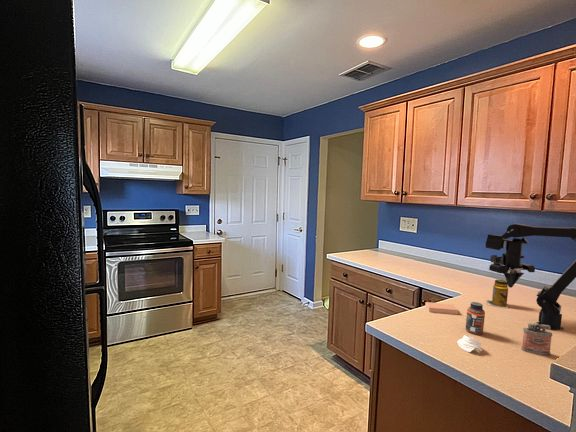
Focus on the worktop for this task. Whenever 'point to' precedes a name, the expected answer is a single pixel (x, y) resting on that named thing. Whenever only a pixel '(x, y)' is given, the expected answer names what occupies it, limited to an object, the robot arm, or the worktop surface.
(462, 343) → the whipped cream
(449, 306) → the tile
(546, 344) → the lighter
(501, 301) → the condiment
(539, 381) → the worktop surface
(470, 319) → the supplement bottle
